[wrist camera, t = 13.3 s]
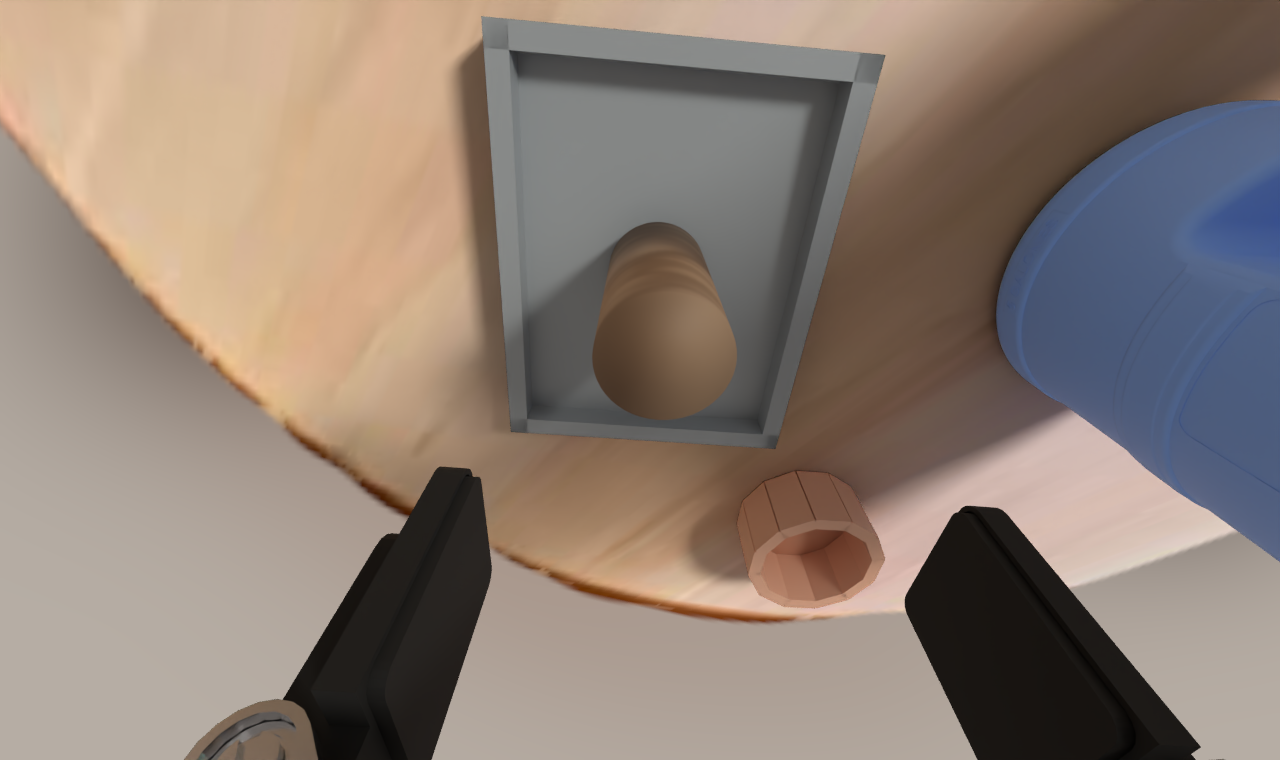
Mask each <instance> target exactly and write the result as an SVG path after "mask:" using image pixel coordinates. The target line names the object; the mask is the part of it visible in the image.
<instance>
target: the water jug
mask: <svg viewBox="0 0 1280 760" xmlns="http://www.w3.org/2000/svg"><path fill="white" fill-rule="evenodd" d="M996 323H997V332H998V337H999V341H1000V344H1001V347H1002V349H1003V351H1004V354H1005V356H1006V357H1007V359H1008V361H1009V362H1010V364H1011V365H1012V366H1013V368H1014V369H1015V370H1016V371H1017V372H1018V373H1019V374H1020V375H1021V376H1022V377H1023V378H1024V379H1025V380H1027V381H1028V382H1029V383H1031V384H1032V385H1033V386H1035V387H1036V388H1038V389H1039V390H1040V391H1042V392H1043V393H1044V394H1046V395H1047V396H1049V397H1050V398H1052V399H1054V400H1056V401H1058V402H1060V403H1063V404H1064V405H1066V406H1067V407H1068V408H1070V409H1071V410H1073V411H1074V412H1075V413H1077V414H1078V415H1079V416H1081V417H1082V418H1083V419H1085V420H1086V421H1088V422H1089V423H1090V424H1092V425H1093V426H1094V427H1096V428H1097V429H1099V430H1100V431H1101V432H1103V433H1104V434H1105V435H1107V436H1108V437H1110V438H1111V439H1112V440H1114V441H1115V442H1116V443H1118V444H1119V445H1120V446H1122V447H1123V448H1125V449H1126V450H1127V451H1128V452H1129V453H1130V454H1131V455H1132V456H1133V457H1134V458H1135V459H1136V460H1137V461H1138V462H1139V463H1140V464H1142V465H1143V466H1144V467H1145V468H1146V469H1147V470H1149V471H1150V472H1151V473H1153V474H1154V475H1155V476H1157V477H1158V478H1159V479H1161V480H1162V481H1163V482H1165V483H1166V484H1167V485H1169V486H1170V487H1171V488H1173V489H1174V490H1176V491H1177V492H1178V493H1180V494H1181V495H1183V496H1185V497H1186V498H1188V499H1189V500H1191V501H1192V502H1194V503H1196V504H1198V505H1199V506H1201V507H1204V508H1206V509H1208V510H1210V511H1211V512H1212V513H1214V514H1215V515H1216V516H1218V517H1219V518H1220V519H1222V520H1223V521H1225V522H1226V523H1227V524H1229V525H1230V526H1231V527H1233V528H1234V529H1236V530H1237V531H1238V532H1240V533H1241V534H1242V535H1244V536H1245V537H1247V538H1248V539H1249V540H1251V541H1252V542H1253V543H1255V544H1256V545H1258V546H1259V547H1260V548H1262V549H1263V550H1264V551H1266V552H1267V553H1268V554H1270V555H1271V556H1273V557H1274V558H1275V559H1277V560H1278V561H1280V100H1248V101H1235V102H1228V103H1221V104H1216V105H1211V106H1207V107H1203V108H1199V109H1195V110H1192V111H1188V112H1185V113H1182V114H1179V115H1177V116H1174V117H1171V118H1169V119H1166V120H1164V121H1161V122H1159V123H1157V124H1155V125H1152V126H1150V127H1148V128H1146V129H1144V130H1142V131H1140V132H1138V133H1136V134H1134V135H1133V136H1131V137H1129V138H1127V139H1126V140H1124V141H1122V142H1121V143H1119V144H1117V145H1116V146H1114V147H1113V148H1111V149H1110V150H1108V151H1107V152H1105V153H1104V154H1102V155H1101V156H1099V157H1098V158H1097V159H1095V160H1094V161H1093V162H1091V163H1090V164H1089V165H1087V166H1086V167H1085V168H1084V169H1082V170H1081V171H1080V172H1079V173H1078V174H1077V175H1075V176H1074V177H1073V178H1072V179H1071V180H1070V181H1069V182H1068V183H1067V184H1066V185H1064V186H1063V187H1062V188H1061V189H1060V190H1059V191H1058V192H1057V193H1056V194H1055V196H1054V197H1053V198H1052V199H1051V200H1050V201H1049V202H1048V203H1047V204H1046V205H1045V207H1044V208H1043V209H1042V210H1041V211H1040V213H1039V214H1038V215H1037V216H1036V218H1035V219H1034V220H1033V222H1032V223H1031V225H1030V226H1029V227H1028V229H1027V230H1026V232H1025V233H1024V235H1023V236H1022V238H1021V240H1020V241H1019V243H1018V245H1017V247H1016V248H1015V250H1014V252H1013V254H1012V256H1011V258H1010V261H1009V263H1008V265H1007V268H1006V270H1005V273H1004V276H1003V279H1002V282H1001V285H1000V289H999V294H998V300H997V309H996Z"/></svg>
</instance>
